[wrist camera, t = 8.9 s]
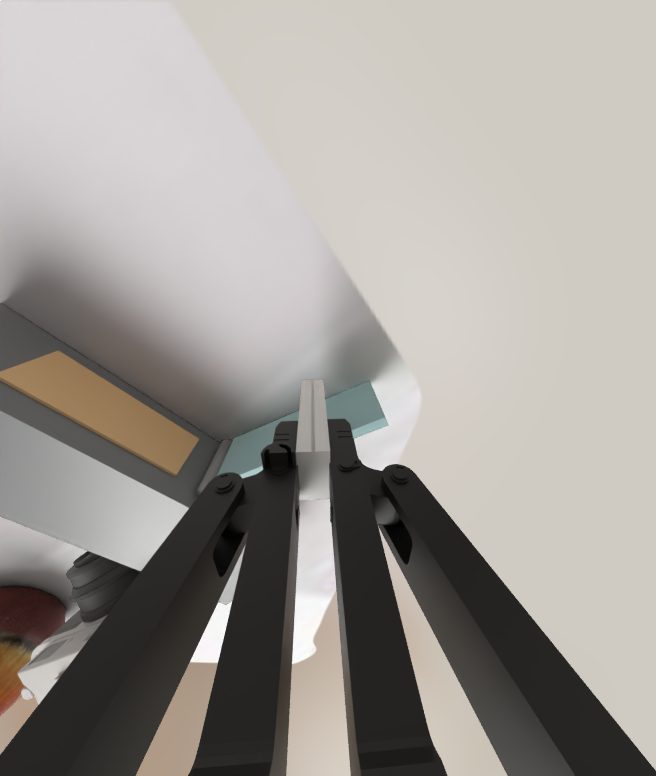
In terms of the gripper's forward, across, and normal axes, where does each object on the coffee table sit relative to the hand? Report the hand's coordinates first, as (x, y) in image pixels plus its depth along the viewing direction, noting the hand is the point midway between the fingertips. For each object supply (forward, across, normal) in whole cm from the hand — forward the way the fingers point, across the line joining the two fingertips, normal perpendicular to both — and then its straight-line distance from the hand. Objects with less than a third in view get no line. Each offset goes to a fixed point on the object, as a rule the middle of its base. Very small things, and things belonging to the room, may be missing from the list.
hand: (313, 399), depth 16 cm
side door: (+2, -2, -3) cm, 4 cm away
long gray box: (+3, -13, -6) cm, 15 cm away
